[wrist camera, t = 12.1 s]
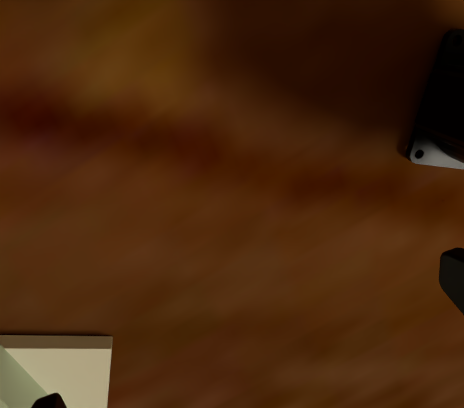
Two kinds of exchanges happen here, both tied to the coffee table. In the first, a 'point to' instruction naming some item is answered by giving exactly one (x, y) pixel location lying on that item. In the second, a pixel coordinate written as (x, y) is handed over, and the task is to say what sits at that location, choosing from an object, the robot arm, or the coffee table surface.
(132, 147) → the coffee table surface
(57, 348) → the board
